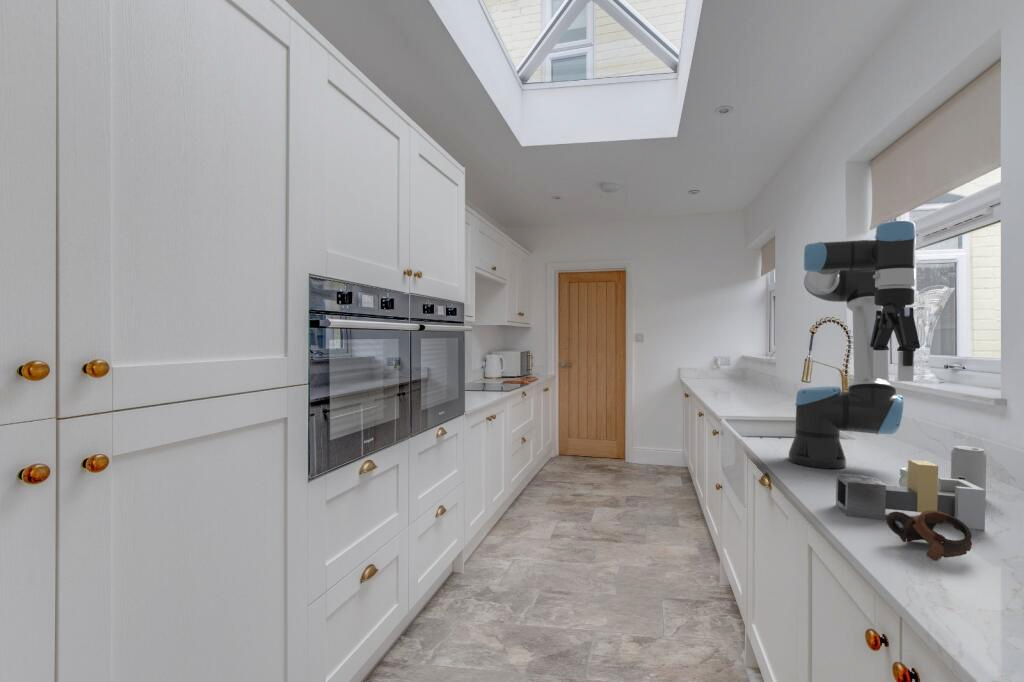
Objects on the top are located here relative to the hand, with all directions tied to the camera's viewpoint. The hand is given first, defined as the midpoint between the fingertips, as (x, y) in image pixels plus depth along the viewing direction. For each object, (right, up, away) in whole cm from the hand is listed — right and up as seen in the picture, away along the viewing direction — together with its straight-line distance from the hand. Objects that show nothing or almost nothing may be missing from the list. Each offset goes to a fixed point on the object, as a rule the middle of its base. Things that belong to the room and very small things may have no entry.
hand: (892, 378), depth 120 cm
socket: (+4, -29, -14) cm, 32 cm away
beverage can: (+22, -29, +4) cm, 37 cm away
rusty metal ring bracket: (-15, -29, -29) cm, 43 cm away
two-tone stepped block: (-4, -27, -11) cm, 29 cm away
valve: (+10, -29, +1) cm, 31 cm away
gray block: (-13, -29, -9) cm, 33 cm away
